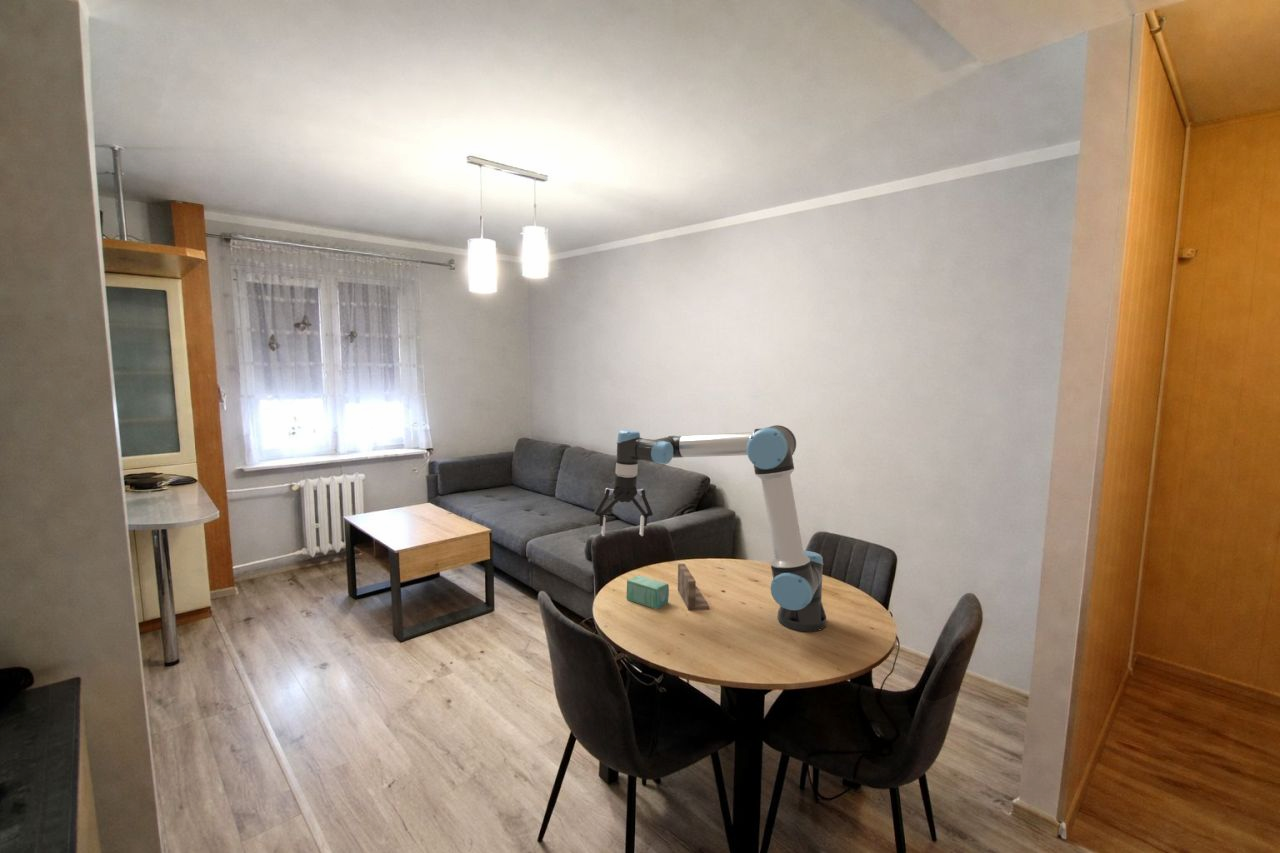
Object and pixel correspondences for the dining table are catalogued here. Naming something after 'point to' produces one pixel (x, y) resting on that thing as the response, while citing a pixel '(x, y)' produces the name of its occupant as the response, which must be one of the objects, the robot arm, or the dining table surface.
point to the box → (647, 591)
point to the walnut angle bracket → (690, 590)
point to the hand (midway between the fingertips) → (622, 534)
